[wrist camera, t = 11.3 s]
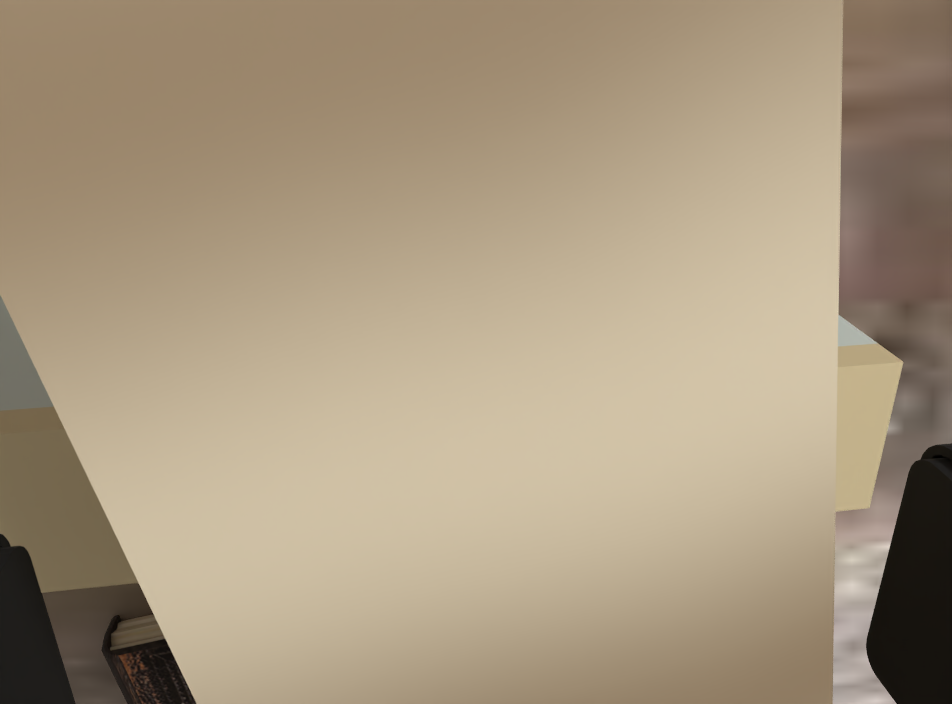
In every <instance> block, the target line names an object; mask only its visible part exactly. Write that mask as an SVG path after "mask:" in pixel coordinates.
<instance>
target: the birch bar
mask: <svg viewBox="0 0 952 704" xmlns="http://www.w3.org/2000/svg"><path fill="white" fill-rule="evenodd" d="M842 43H843V0H0V295H1V297H2V299H3V302H4V304H5V306H6V308H7V310H8V312H9V314H10V316H11V318H12V320H13V322H14V324H15V327H16V329H17V331H18V333H19V335H20V337H21V339H22V341H23V343H24V345H25V347H26V349H27V352H28V354H29V356H30V358H31V360H32V362H33V364H34V366H35V368H36V370H37V372H38V374H39V376H40V379H41V381H42V383H43V385H44V387H45V389H46V391H47V393H48V395H49V397H50V399H51V401H52V404H53V406H54V408H55V410H56V412H57V414H58V416H59V418H60V420H61V422H62V424H63V426H64V429H65V431H66V433H67V435H68V437H69V439H70V441H71V443H72V445H73V447H74V449H75V451H76V454H77V456H78V458H79V460H80V462H81V464H82V466H83V468H84V470H85V472H86V474H87V476H88V479H89V481H90V483H91V485H92V487H93V489H94V491H95V493H96V495H97V497H98V499H99V501H100V504H101V506H102V508H103V510H104V512H105V514H106V516H107V518H108V520H109V522H110V524H111V526H112V529H113V531H114V533H115V535H116V537H117V539H118V541H119V543H120V545H121V547H122V549H123V551H124V554H125V556H126V558H127V560H128V562H129V564H130V566H131V568H132V570H133V572H134V574H135V576H136V579H137V581H138V583H139V585H140V587H141V589H142V591H143V593H144V595H145V597H146V599H147V601H148V604H149V606H150V608H151V610H152V612H153V614H154V616H155V618H156V620H157V622H158V624H159V626H160V629H161V631H162V633H163V635H164V637H165V639H166V641H167V643H168V645H169V647H170V649H171V651H172V654H173V656H174V658H175V660H176V662H177V664H178V666H179V668H180V670H181V672H182V674H183V676H184V679H185V681H186V683H187V685H188V687H189V689H190V691H191V693H192V695H193V697H194V699H195V701H196V704H832V697H833V632H834V566H835V501H836V436H837V370H838V305H839V239H840V174H841V109H842Z"/></svg>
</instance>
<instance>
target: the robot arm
mask: <svg viewBox="0 0 952 704" xmlns="http://www.w3.org/2000/svg"><path fill="white" fill-rule="evenodd" d="M866 648H867V655H868V659H869V662H870V665H871V667H872V670H873V671H874V673H875V675H876V676H877V678H878V679H879V680H880V682H881V683H882V684H883V686H884V687H885V688H886V690H887V691H888V692H889V694H890V695H891V697H892V698H893V699H894V701H895V702H896V703H897V704H952V444H942V445H935V446H932V447H929V448H928V449H927V450H926V451H925V452H924V453H923V455H922V458H921V460H919V461H916V462H915V463H914V464H913V465H912V466H911V469H910V471H909V474H908V478H907V482H906V486H905V490H904V494H903V498H902V502H901V506H900V510H899V514H898V517H897V521H896V525H895V529H894V533H893V537H892V541H891V545H890V549H889V553H888V557H887V561H886V565H885V569H884V573H883V577H882V581H881V585H880V589H879V593H878V597H877V601H876V605H875V609H874V613H873V617H872V620H871V624H870V628H869V632H868V636H867V643H866ZM0 704H75V701H74V697H73V694H72V691H71V688H70V684H69V681H68V678H67V675H66V671H65V668H64V665H63V661H62V658H61V655H60V652H59V648H58V645H57V642H56V639H55V635H54V632H53V629H52V626H51V622H50V619H49V616H48V613H47V609H46V606H45V603H44V599H43V596H42V593H41V590H40V586H39V583H38V580H37V577H36V573H35V570H34V567H33V564H32V560H31V557H30V555H29V553H28V551H27V550H26V549H25V547H23V546H12V547H11V545H10V543H9V541H8V540H7V538H6V537H5V536H4V535H3V534H0Z"/></svg>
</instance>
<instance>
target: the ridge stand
mask: <svg viewBox="0 0 952 704" xmlns="http://www.w3.org/2000/svg"><path fill="white" fill-rule="evenodd" d="M902 365H903V361H901V360H900V359H898V358H897V357H896V356H894V355H893V354H892V353H890V352H889V351H887V350H886V349H885V348H883V347H882V346H881V345H879V344H878V343H876V342H875V341H874V340H872V339H871V338H870V337H868V336H867V335H865V334H864V333H863V332H861V331H860V330H859V329H857V328H856V327H854V326H853V325H852V324H850V323H849V322H848V321H846V320H845V319H843V318H842V317H841V316H839V315H838V370H837V436H836V501H835V512H836V511H845V510H855V509H865V508H869V507H870V503H871V498H872V494H873V490H874V486H875V481H876V477H877V473H878V468H879V464H880V460H881V455H882V451H883V447H884V443H885V438H886V434H887V430H888V425H889V421H890V417H891V413H892V408H893V404H894V400H895V395H896V391H897V387H898V383H899V378H900V374H901V370H902ZM0 534H3V535H4V536H5V537H6V538H7V540H8V541H9V543H10V545H11V547H12V546H23V547H25V549H26V550H27V551H28V553H29V555H30V557H31V560H32V564H33V567H34V570H35V573H36V577H37V580H38V583H39V586H40V590H41V593H45V592H55V591H64V590H74V589H84V588H94V587H103V586H113V585H123V584H133V583H138V581H137V579H136V576H135V574H134V572H133V570H132V568H131V566H130V564H129V562H128V560H127V558H126V556H125V554H124V551H123V549H122V547H121V545H120V543H119V541H118V539H117V537H116V535H115V533H114V531H113V529H112V526H111V524H110V522H109V520H108V518H107V516H106V514H105V512H104V510H103V508H102V506H101V504H100V501H99V499H98V497H97V495H96V493H95V491H94V489H93V487H92V485H91V483H90V481H89V479H88V476H87V474H86V472H85V470H84V468H83V466H82V464H81V462H80V460H79V458H78V456H77V454H76V451H75V449H74V447H73V445H72V443H71V441H70V439H69V437H68V435H67V433H66V431H65V429H64V426H63V424H62V422H61V420H60V418H59V416H58V414H57V412H56V410H55V408H54V406H53V404H52V401H51V399H50V397H49V395H48V393H47V391H46V389H45V387H44V385H43V383H42V381H41V379H40V376H39V374H38V372H37V370H36V368H35V366H34V364H33V362H32V360H31V358H30V356H29V354H28V352H27V349H26V347H25V345H24V343H23V341H22V339H21V337H20V335H19V333H18V331H17V329H16V327H15V324H14V322H13V320H12V318H11V316H10V314H9V312H8V310H7V308H6V306H5V304H4V302H3V299H2V297H1V295H0Z"/></svg>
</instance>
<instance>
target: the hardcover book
mask: <svg viewBox="0 0 952 704" xmlns="http://www.w3.org/2000/svg"><path fill="white" fill-rule="evenodd" d="M102 652H103V654H104V656H105V658H106V660H107V662H108V664H109V666H110V668H111V670H112V672H113V675H114V677H115V679H116V681H117V683H118V685H119V687H120V689H121V691H122V693H123V695H124V697H125V699H126V701H127V703H128V704H196V701H195V699H194V697H193V695H192V693H191V691H190V689H189V687H188V685H187V683H186V681H185V679H184V676H183V674H182V672H181V670H180V668H179V666H178V664H177V662H176V660H175V658H174V656H173V654H172V651H171V649H170V647H169V645H168V643H167V641H166V639H165V637H164V635H163V633H162V631H161V629H160V626H159V624H158V622H157V620H156V618H155V616H154V614H152V615H147V616H143V617H138V618H133V619H129V620H124V621H121V619H120V617H119V615H118V616H115V617H114V618H113V619H112V621H111V623H110V625H109V627H108V629H107V632H106V634H105V637H104V641H103V645H102Z"/></svg>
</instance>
